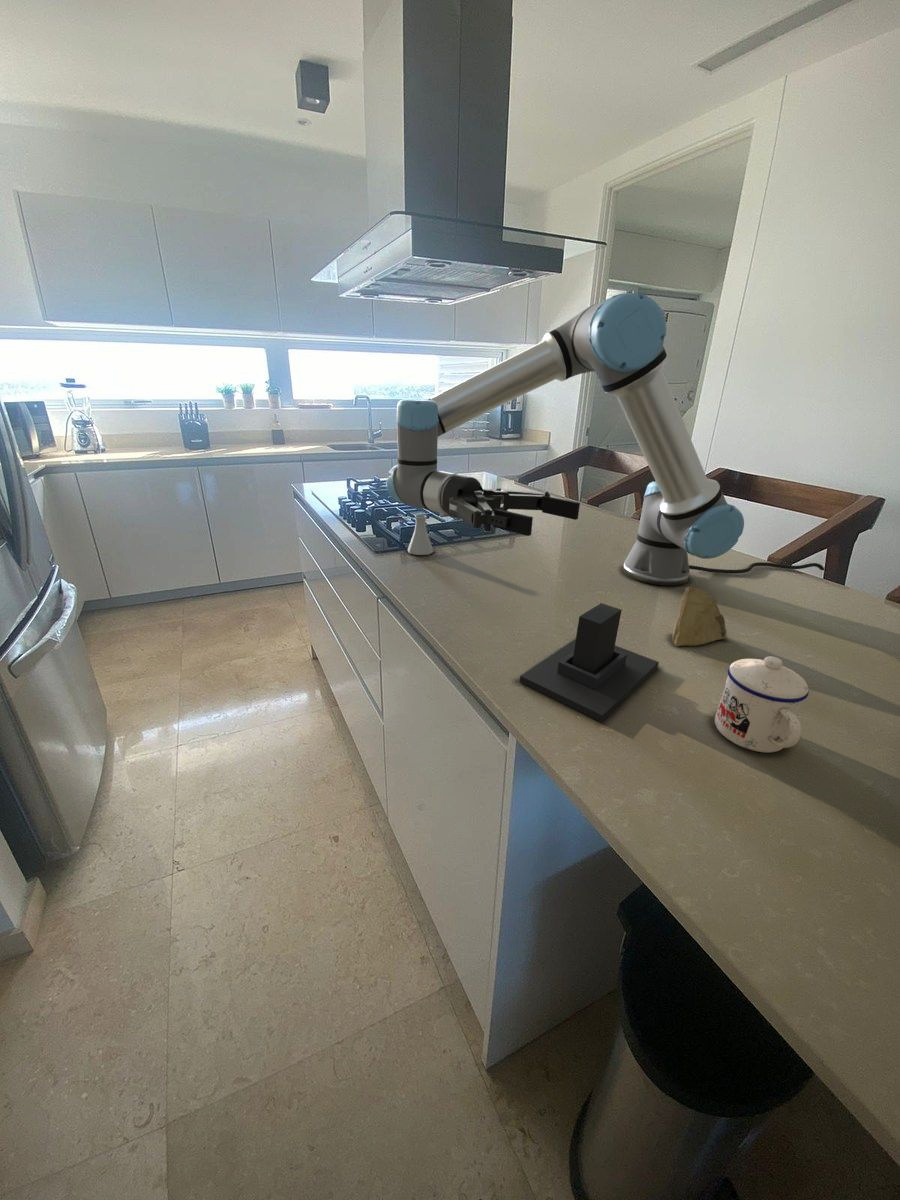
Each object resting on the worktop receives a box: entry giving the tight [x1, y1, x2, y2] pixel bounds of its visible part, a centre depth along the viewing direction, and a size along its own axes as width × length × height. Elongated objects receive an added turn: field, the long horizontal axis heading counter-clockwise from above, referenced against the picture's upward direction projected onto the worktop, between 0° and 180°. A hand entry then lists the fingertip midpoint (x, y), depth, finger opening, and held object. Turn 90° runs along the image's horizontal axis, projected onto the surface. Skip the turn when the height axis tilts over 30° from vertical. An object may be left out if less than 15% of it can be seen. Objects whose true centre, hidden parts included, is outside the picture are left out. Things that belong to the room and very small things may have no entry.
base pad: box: [519, 638, 660, 723], centre depth 78 cm, size 20×14×3 cm
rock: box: [671, 586, 728, 647], centre depth 89 cm, size 11×9×10 cm
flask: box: [407, 514, 434, 556], centre depth 131 cm, size 7×7×10 cm
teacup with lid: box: [714, 655, 810, 753], centre depth 63 cm, size 12×9×12 cm
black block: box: [572, 602, 622, 675], centre depth 76 cm, size 7×4×10 cm, turn 137°
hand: (555, 518), depth 75 cm, fingers open, 13 cm apart
